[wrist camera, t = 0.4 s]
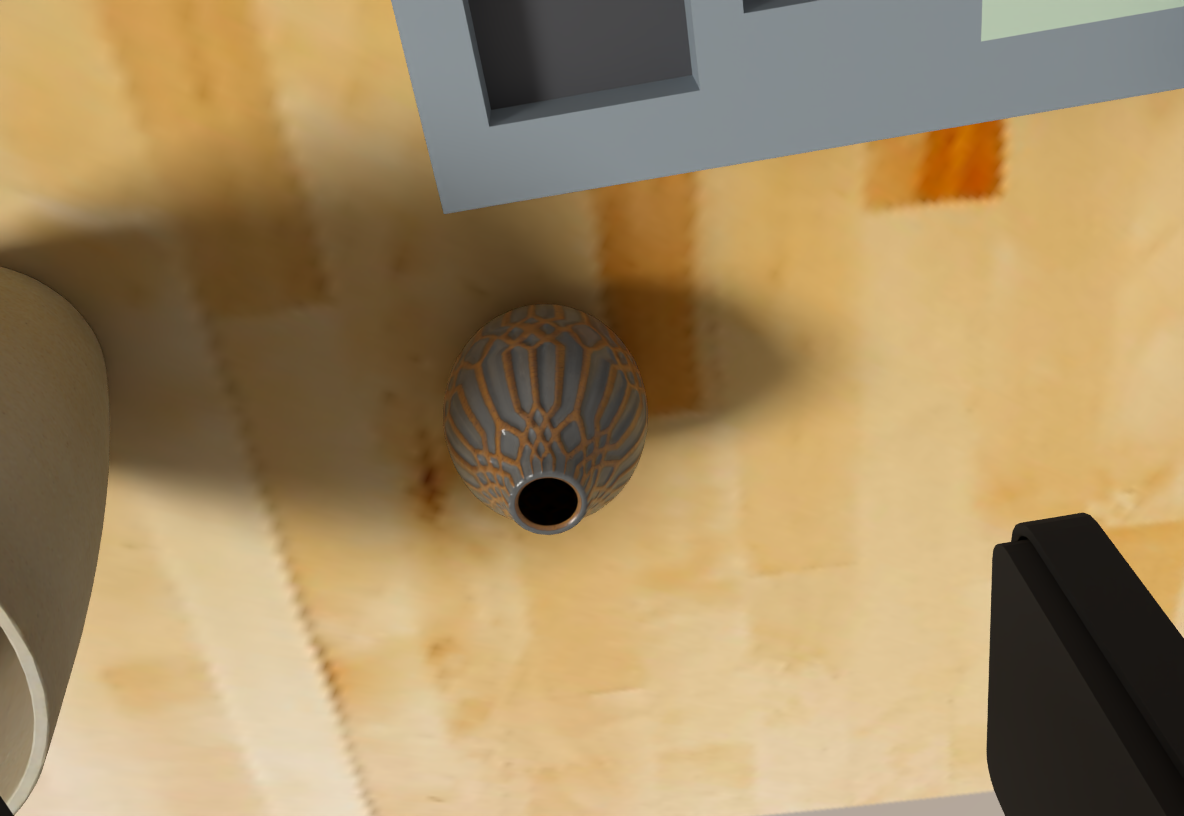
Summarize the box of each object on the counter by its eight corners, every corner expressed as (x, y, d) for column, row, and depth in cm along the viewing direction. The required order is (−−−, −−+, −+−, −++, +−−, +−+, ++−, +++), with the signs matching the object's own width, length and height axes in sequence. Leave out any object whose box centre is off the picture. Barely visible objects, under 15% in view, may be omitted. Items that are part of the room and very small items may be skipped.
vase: (643, 430, 41) (669, 581, 34) (465, 448, 41) (451, 603, 34) (631, 266, 38) (657, 394, 30) (436, 286, 38) (413, 419, 30)
